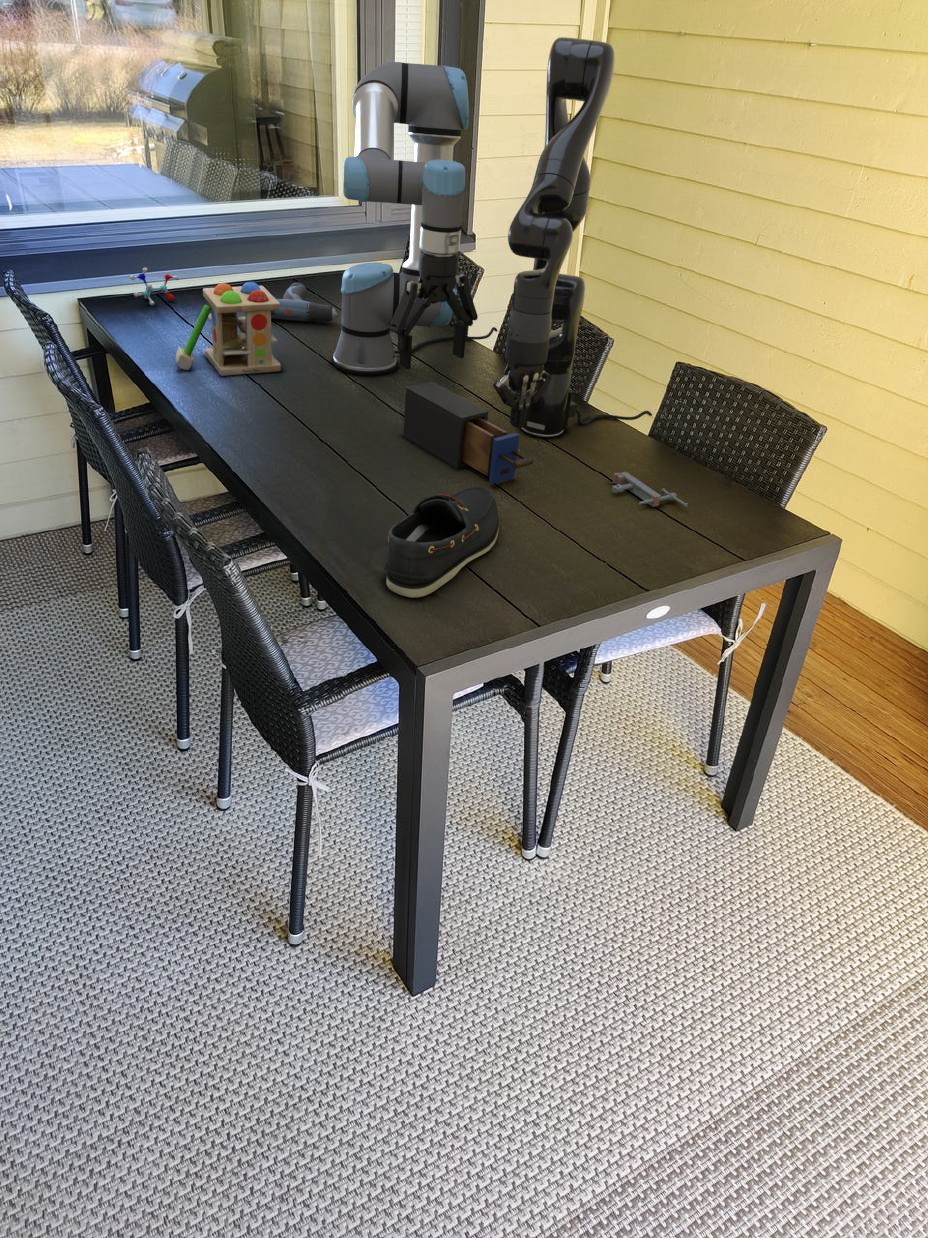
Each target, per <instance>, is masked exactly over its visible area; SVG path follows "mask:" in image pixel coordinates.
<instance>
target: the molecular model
mask: <svg viewBox="0 0 928 1238" xmlns="http://www.w3.org/2000/svg"><path fill="white" fill-rule="evenodd" d="M146 273H148V268H147V267H143V268H142V273H139V275H135V274H134V275H133V274H132V275H130V276H129V278H130V280H132V281H134V280H136V279H139V280H140V281H142V282H143V284H144V285H145V290H143V292H137V291H135V292H134V293H133V296H134V297H135V298H138V297H139V296H140V297H141V296H143V298H144V299H145V300H148V301H149V305H150V306H151V307H152V306H154V305H155V301H153V300H152V298H151V297H150V296H151V294H152V293H153V292H154V291H161V292H163V293H164V294H165V295H166V297H167V299H168V301H170V302H171V301H174V300H175V296H174V295H173V294H171V293H170V291H169V290H168V287H167V283H168V281H170V280H171V279H172V280H175V281H179V280H180V276H179V275H170V274H169V273H165V275H164V283H163V284H161V285H160V286H159V287H153V285H152V284H150V283H149V284H148V282H147V281H146Z"/></svg>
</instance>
